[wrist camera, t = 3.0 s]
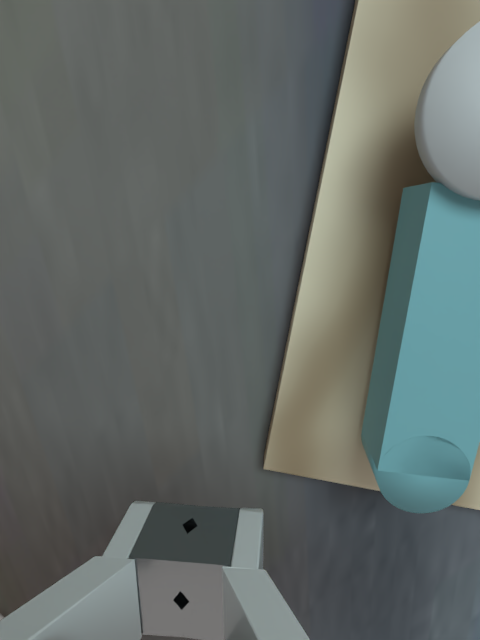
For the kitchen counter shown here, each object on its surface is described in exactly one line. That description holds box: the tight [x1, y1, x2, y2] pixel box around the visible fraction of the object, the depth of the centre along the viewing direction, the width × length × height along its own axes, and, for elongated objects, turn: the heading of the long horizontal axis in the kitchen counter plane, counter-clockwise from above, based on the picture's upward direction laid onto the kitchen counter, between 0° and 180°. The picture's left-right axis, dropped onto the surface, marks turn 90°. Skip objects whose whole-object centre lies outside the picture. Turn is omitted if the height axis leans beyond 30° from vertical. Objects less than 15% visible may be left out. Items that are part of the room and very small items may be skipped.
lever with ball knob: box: [361, 21, 480, 513], centre depth 12 cm, size 15×4×3 cm, turn 176°
